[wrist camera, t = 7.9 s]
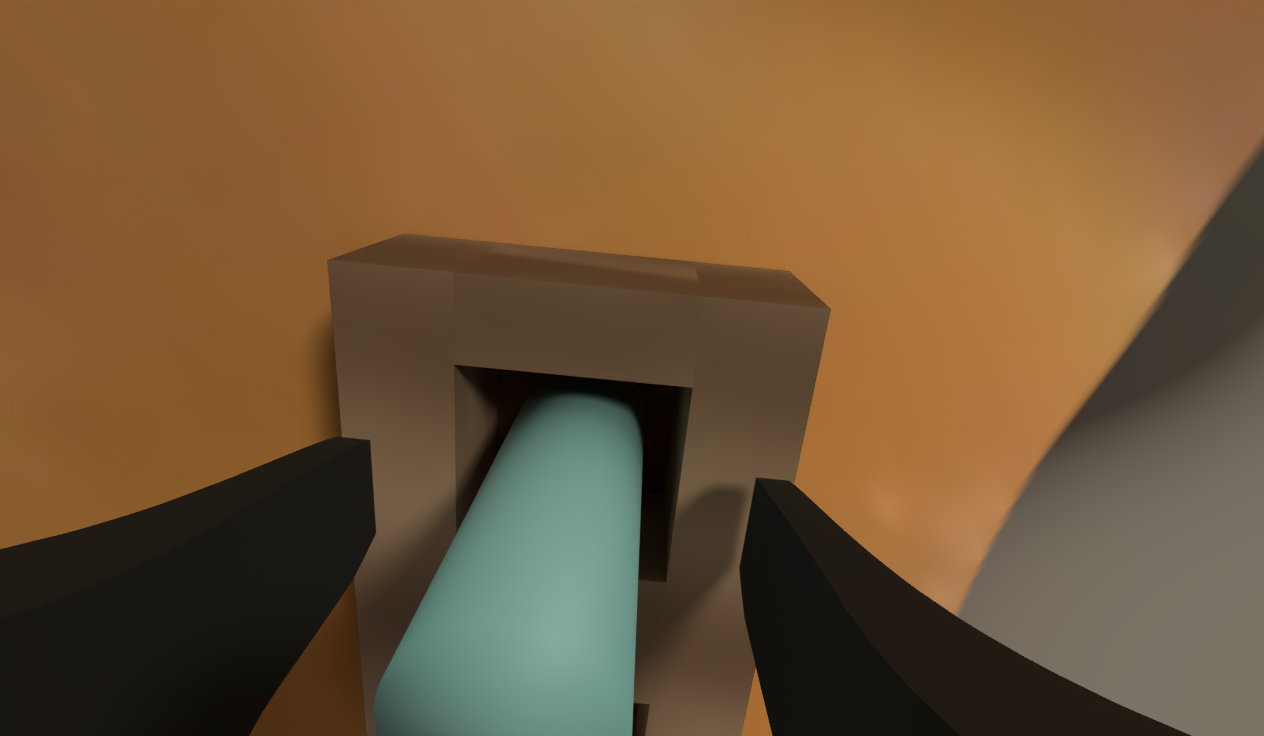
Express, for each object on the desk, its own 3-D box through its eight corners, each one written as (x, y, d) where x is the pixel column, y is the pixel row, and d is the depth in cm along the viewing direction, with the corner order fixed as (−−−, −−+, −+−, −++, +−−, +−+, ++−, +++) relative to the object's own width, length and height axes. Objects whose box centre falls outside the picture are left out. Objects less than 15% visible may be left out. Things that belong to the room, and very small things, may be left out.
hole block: (700, 761, 20) (709, 885, 16) (422, 734, 20) (376, 853, 16) (789, 271, 14) (831, 308, 11) (403, 234, 14) (327, 260, 11)
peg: (641, 466, 16) (626, 825, 8) (528, 459, 16) (385, 808, 8) (648, 359, 15) (638, 635, 6) (526, 352, 15) (361, 616, 7)
